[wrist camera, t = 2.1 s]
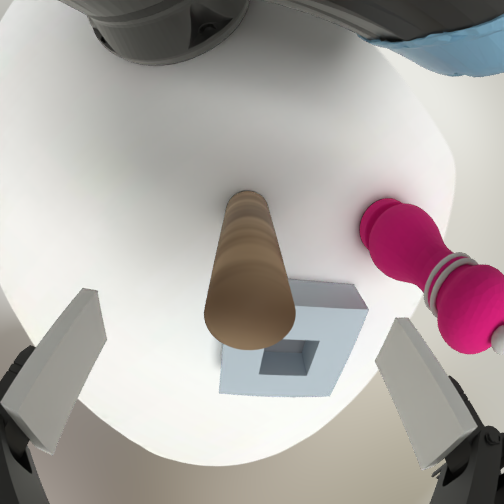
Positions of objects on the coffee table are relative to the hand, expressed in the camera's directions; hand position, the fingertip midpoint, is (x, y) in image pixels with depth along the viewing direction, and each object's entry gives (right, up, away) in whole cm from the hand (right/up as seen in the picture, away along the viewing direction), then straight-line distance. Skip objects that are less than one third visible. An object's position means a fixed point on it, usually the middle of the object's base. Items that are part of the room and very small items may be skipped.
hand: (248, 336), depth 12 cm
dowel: (0, +7, +16) cm, 18 cm away
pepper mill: (+14, +6, +17) cm, 23 cm away
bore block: (+4, -6, +22) cm, 23 cm away
